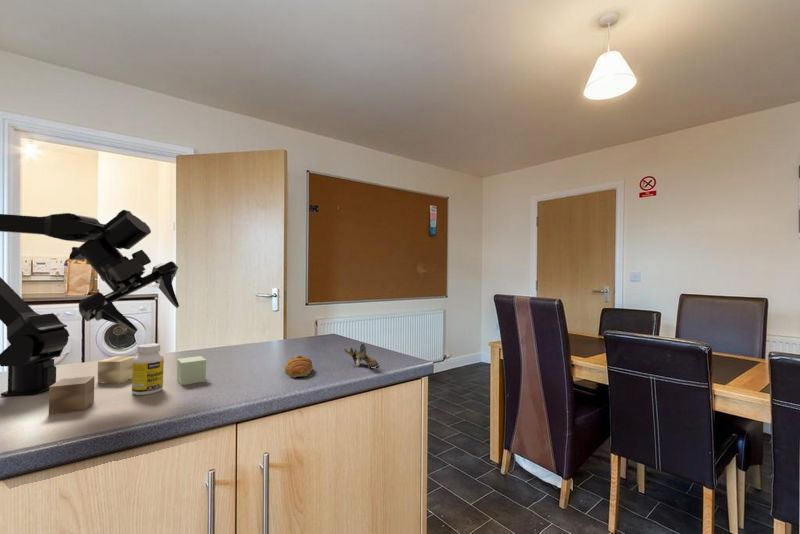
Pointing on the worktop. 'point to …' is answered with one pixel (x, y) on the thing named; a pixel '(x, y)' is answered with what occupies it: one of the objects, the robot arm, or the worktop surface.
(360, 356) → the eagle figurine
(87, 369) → the worktop surface
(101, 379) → the maple block
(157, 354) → the supplement bottle
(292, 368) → the pastry
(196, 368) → the sage block
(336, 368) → the worktop surface
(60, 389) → the walnut block
